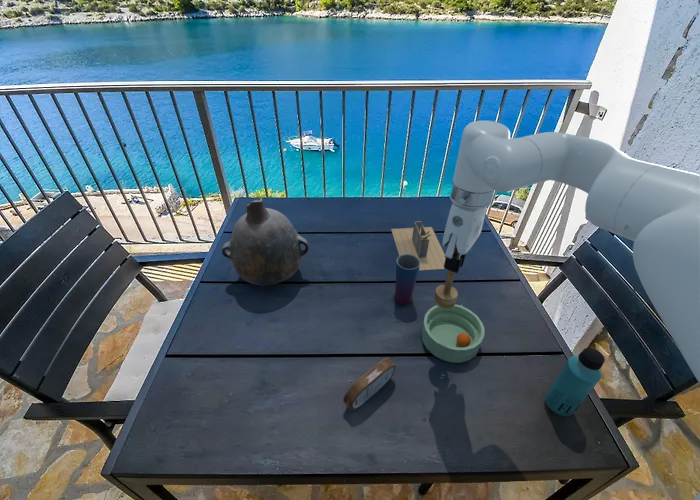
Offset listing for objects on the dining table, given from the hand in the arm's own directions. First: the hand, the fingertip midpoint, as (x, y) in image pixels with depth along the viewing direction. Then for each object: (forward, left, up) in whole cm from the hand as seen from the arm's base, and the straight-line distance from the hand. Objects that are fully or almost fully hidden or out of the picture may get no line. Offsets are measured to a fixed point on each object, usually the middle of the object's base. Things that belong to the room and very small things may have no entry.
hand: (453, 266), depth 76 cm
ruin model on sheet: (+24, -37, -29) cm, 53 cm away
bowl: (-2, -5, -29) cm, 30 cm away
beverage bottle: (-30, -2, -29) cm, 42 cm away
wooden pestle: (0, 0, -11) cm, 11 cm away
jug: (+57, +6, -29) cm, 64 cm away
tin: (+7, +21, -29) cm, 36 cm away
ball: (-6, -5, -27) cm, 28 cm away
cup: (+16, -11, -29) cm, 35 cm away
